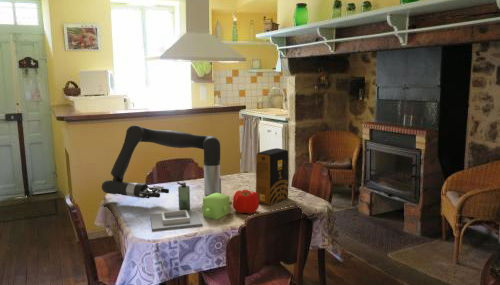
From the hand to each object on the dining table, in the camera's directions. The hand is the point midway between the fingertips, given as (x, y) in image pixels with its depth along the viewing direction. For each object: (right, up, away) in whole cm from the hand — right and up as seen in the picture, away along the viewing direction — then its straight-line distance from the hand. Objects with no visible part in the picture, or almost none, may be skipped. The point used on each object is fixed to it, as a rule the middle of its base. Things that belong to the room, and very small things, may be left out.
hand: (164, 193), depth 207 cm
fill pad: (+9, -11, -18) cm, 23 cm away
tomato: (+42, -9, -6) cm, 43 cm away
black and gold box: (+56, -6, +13) cm, 58 cm away
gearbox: (+28, -10, -11) cm, 31 cm away
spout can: (+11, -8, -2) cm, 14 cm away
